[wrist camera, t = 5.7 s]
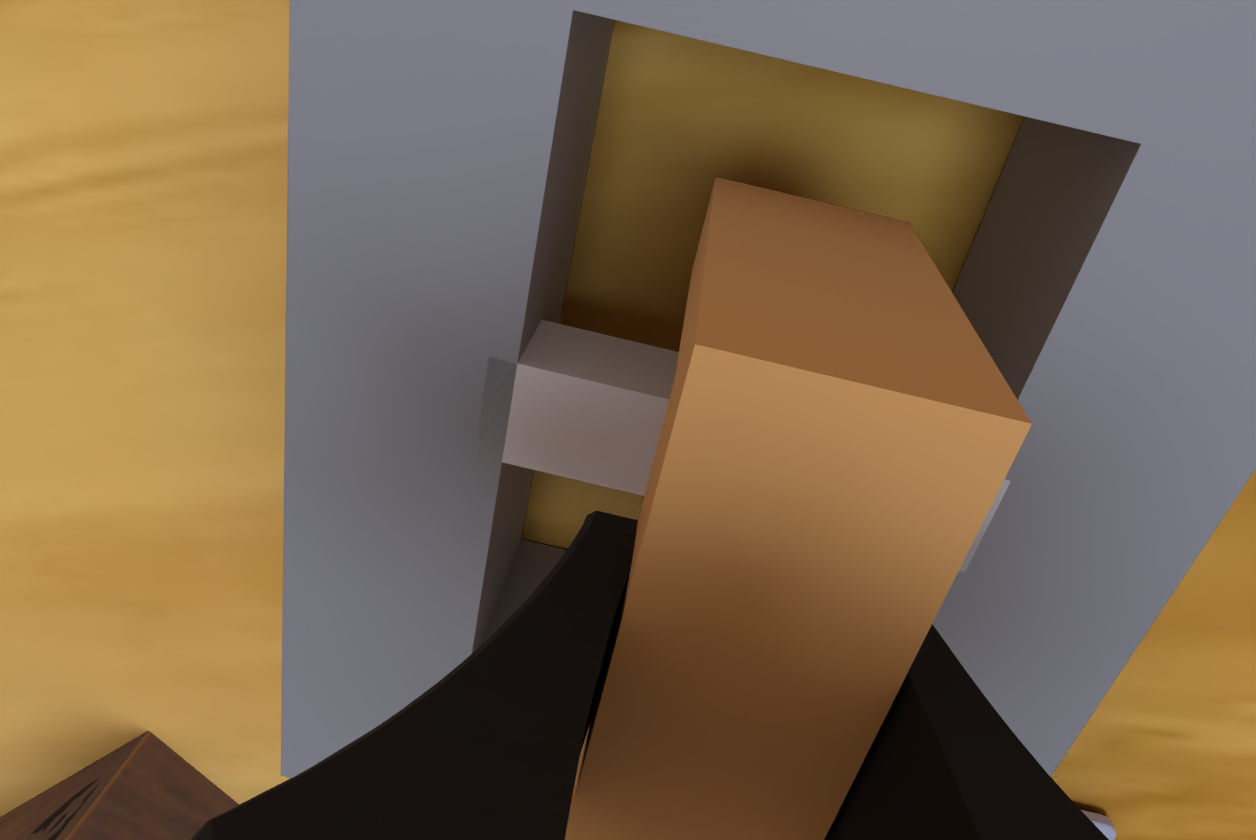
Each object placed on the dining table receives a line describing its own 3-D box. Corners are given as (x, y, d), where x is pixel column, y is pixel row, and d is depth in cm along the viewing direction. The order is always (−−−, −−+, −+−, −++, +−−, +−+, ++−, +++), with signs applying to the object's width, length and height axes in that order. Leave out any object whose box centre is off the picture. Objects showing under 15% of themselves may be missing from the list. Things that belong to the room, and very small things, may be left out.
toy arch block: (749, 652, 18) (753, 983, 12) (604, 617, 18) (539, 932, 12) (909, 222, 13) (1032, 424, 8) (715, 176, 13) (694, 345, 8)
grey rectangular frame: (909, 761, 25) (945, 935, 20) (362, 630, 25) (280, 775, 20) (1395, -139, 14) (1686, -180, 10) (433, -363, 14) (295, -504, 10)
